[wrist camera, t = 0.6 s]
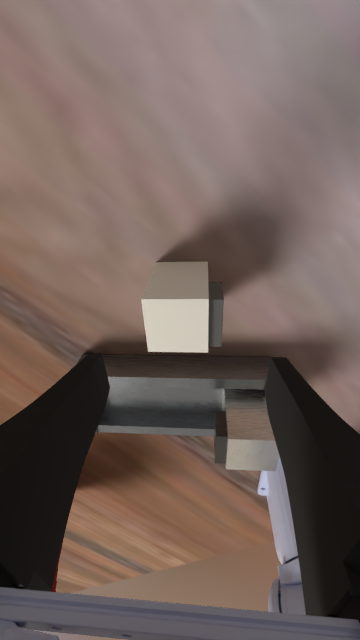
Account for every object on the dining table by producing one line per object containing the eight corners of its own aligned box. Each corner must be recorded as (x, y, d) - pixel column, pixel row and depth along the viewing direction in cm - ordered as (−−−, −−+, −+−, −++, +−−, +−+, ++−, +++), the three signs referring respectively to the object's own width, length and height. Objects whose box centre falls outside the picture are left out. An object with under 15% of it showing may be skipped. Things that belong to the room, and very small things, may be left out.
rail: (261, 413, 27) (275, 484, 22) (98, 408, 29) (72, 473, 23) (270, 356, 23) (290, 424, 18) (82, 354, 25) (47, 416, 19)
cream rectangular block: (155, 262, 20) (141, 299, 15) (219, 261, 19) (224, 298, 15) (159, 307, 22) (148, 351, 17) (218, 306, 21) (221, 352, 17)
